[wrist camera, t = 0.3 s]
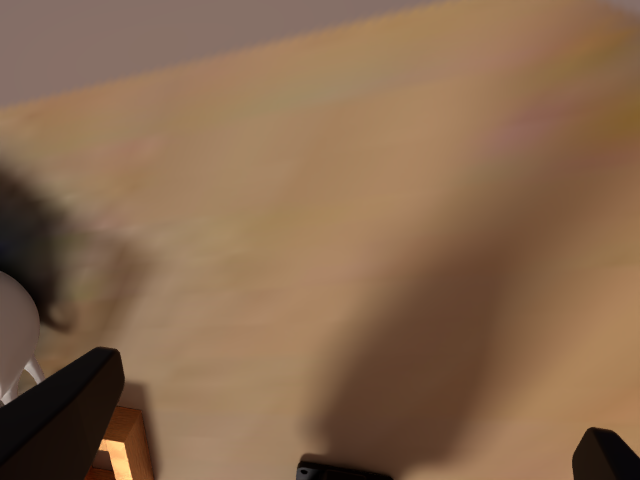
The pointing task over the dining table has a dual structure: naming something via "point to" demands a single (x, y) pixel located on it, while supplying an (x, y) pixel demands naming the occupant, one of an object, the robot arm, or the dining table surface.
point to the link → (125, 448)
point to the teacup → (17, 337)
